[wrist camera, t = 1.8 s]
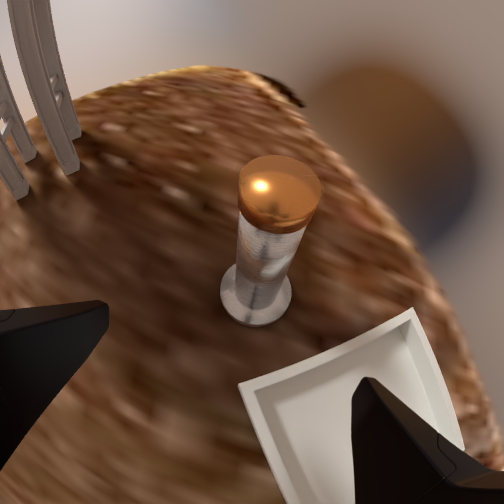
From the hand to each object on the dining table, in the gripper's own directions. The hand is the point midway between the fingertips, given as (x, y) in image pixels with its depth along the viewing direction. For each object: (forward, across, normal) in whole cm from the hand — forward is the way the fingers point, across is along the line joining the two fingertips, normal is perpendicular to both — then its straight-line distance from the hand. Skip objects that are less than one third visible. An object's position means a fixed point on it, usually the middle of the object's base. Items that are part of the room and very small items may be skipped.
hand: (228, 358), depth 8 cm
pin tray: (+8, -12, +11) cm, 18 cm away
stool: (+22, +35, -3) cm, 42 cm away
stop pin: (+15, 0, +4) cm, 16 cm away
